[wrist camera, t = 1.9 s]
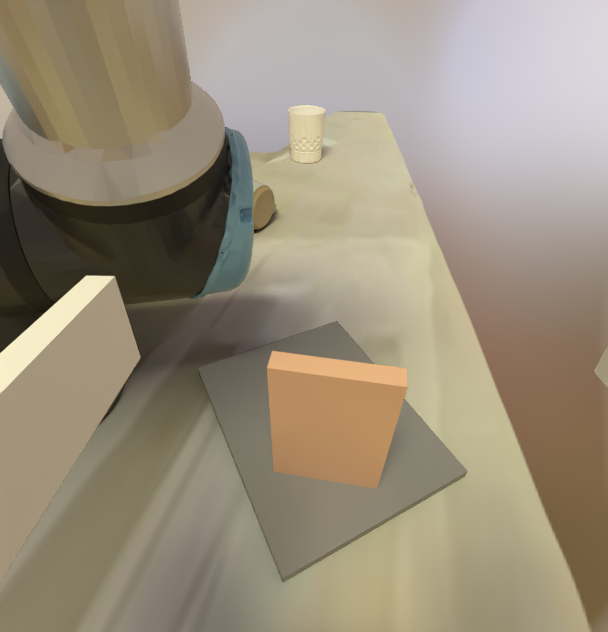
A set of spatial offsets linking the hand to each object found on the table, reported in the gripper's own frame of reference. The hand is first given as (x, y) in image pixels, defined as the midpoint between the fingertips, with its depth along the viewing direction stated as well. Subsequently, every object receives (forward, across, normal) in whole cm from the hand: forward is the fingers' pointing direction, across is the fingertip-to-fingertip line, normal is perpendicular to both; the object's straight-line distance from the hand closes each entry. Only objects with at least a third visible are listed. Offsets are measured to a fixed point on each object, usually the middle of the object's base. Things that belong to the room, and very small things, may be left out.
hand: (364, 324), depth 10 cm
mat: (+15, -1, -21) cm, 26 cm away
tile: (+10, -1, -21) cm, 23 cm away
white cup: (+84, -6, -14) cm, 85 cm away
